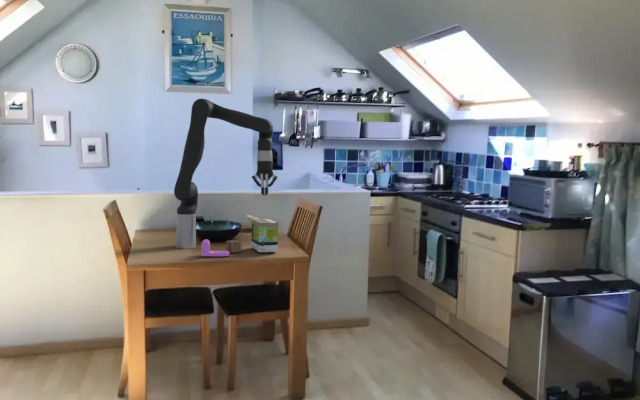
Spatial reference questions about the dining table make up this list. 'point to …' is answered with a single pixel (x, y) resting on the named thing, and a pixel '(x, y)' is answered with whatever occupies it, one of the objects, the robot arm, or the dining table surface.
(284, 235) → the dining table surface
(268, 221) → the tea box
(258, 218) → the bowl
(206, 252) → the bracket
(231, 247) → the walnut block
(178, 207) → the robot arm
